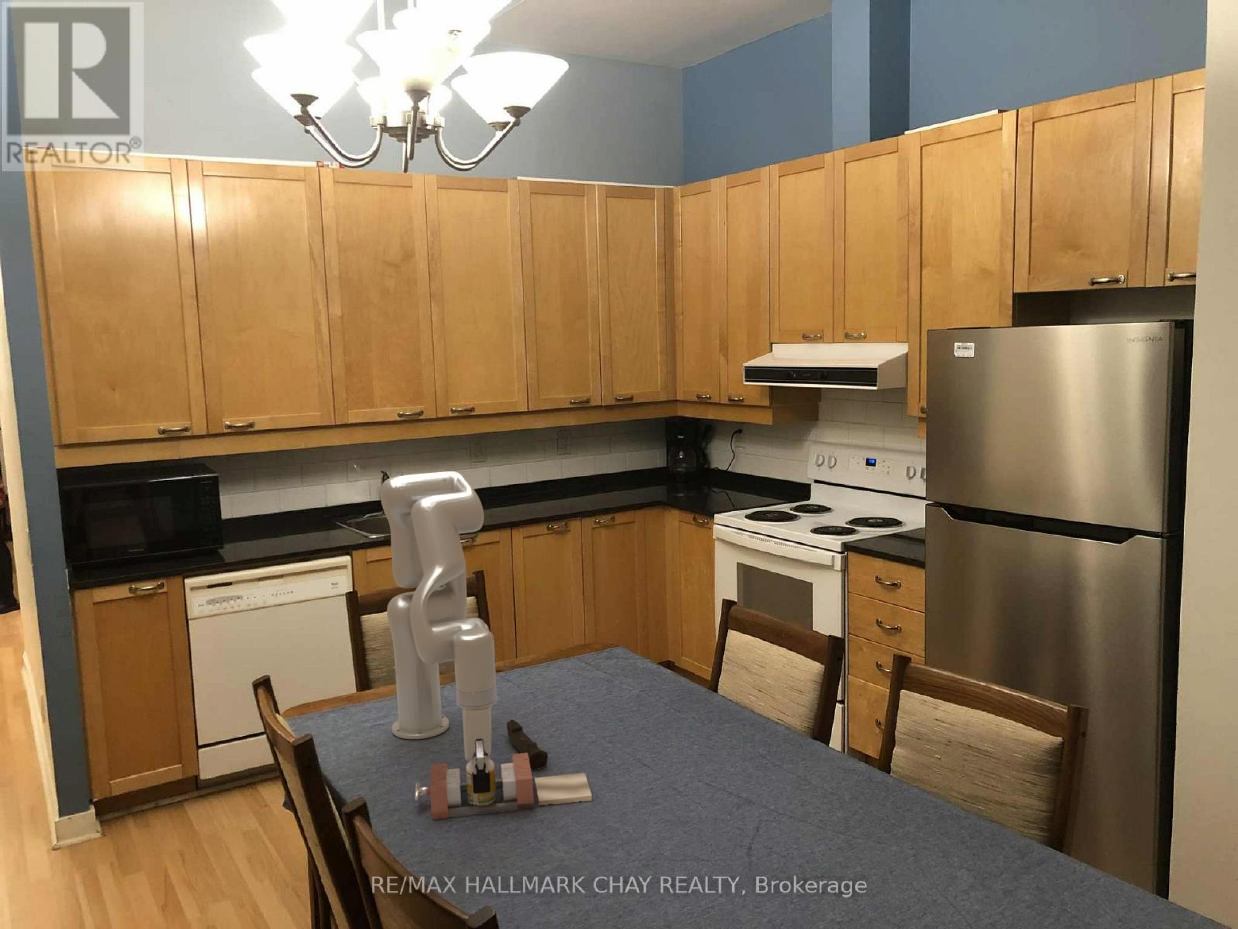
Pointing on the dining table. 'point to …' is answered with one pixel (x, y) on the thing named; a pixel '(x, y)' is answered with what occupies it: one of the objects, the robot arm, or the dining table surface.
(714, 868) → the dining table surface
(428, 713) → the robot arm
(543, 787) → the birch board
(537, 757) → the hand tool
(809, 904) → the dining table surface
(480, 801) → the supplement bottle
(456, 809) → the vise
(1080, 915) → the dining table surface
